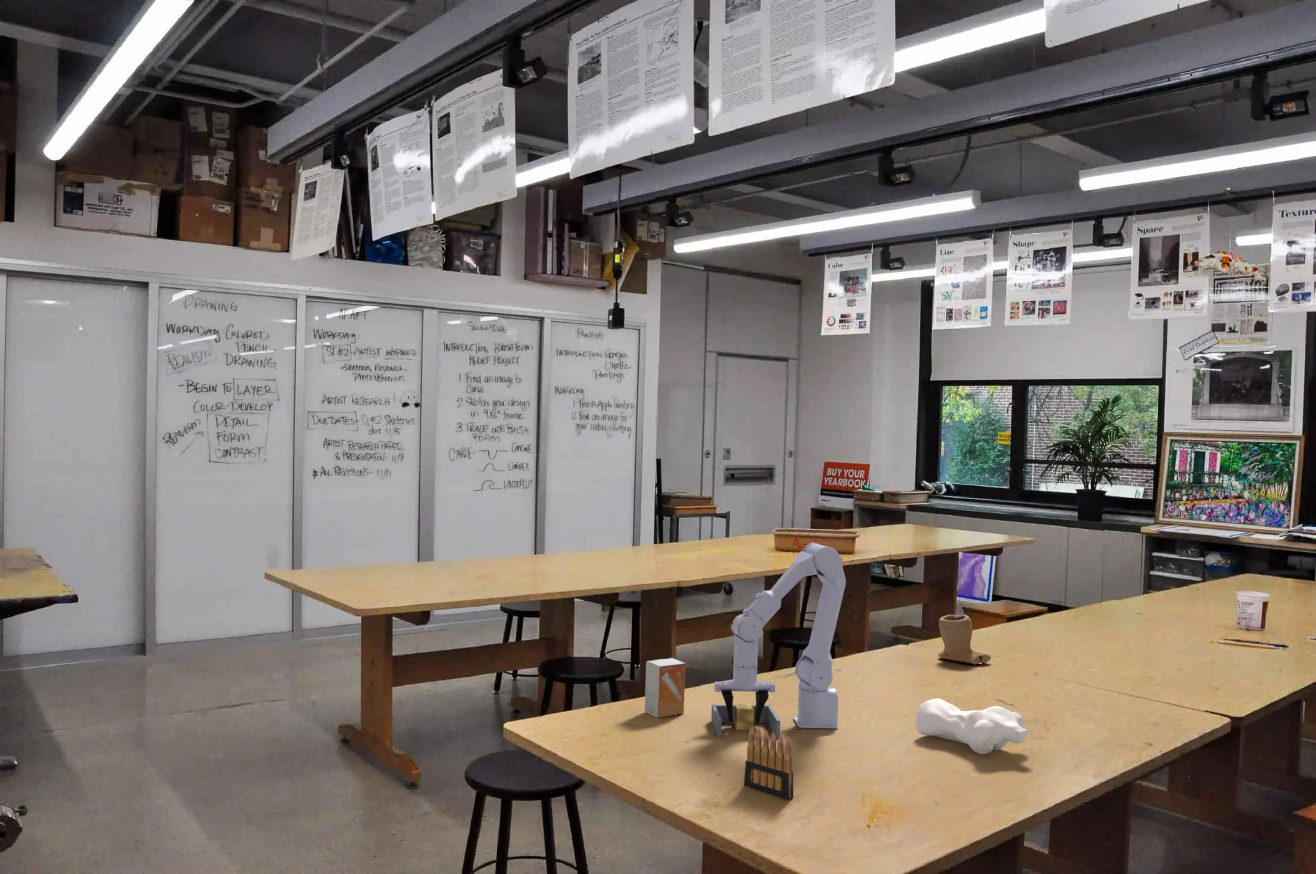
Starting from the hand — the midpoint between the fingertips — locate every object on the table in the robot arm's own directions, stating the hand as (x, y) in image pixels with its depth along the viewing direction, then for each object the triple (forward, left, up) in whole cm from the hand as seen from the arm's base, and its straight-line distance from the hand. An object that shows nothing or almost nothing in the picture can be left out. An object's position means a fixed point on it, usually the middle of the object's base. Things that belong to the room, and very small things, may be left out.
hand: (743, 721), depth 231 cm
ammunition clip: (+2, +42, -2) cm, 42 cm away
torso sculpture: (-52, +14, -2) cm, 53 cm away
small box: (+18, -11, -2) cm, 22 cm away
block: (0, 0, -2) cm, 2 cm away
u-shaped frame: (0, +2, -1) cm, 2 cm away
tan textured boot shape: (-82, -72, -2) cm, 109 cm away
